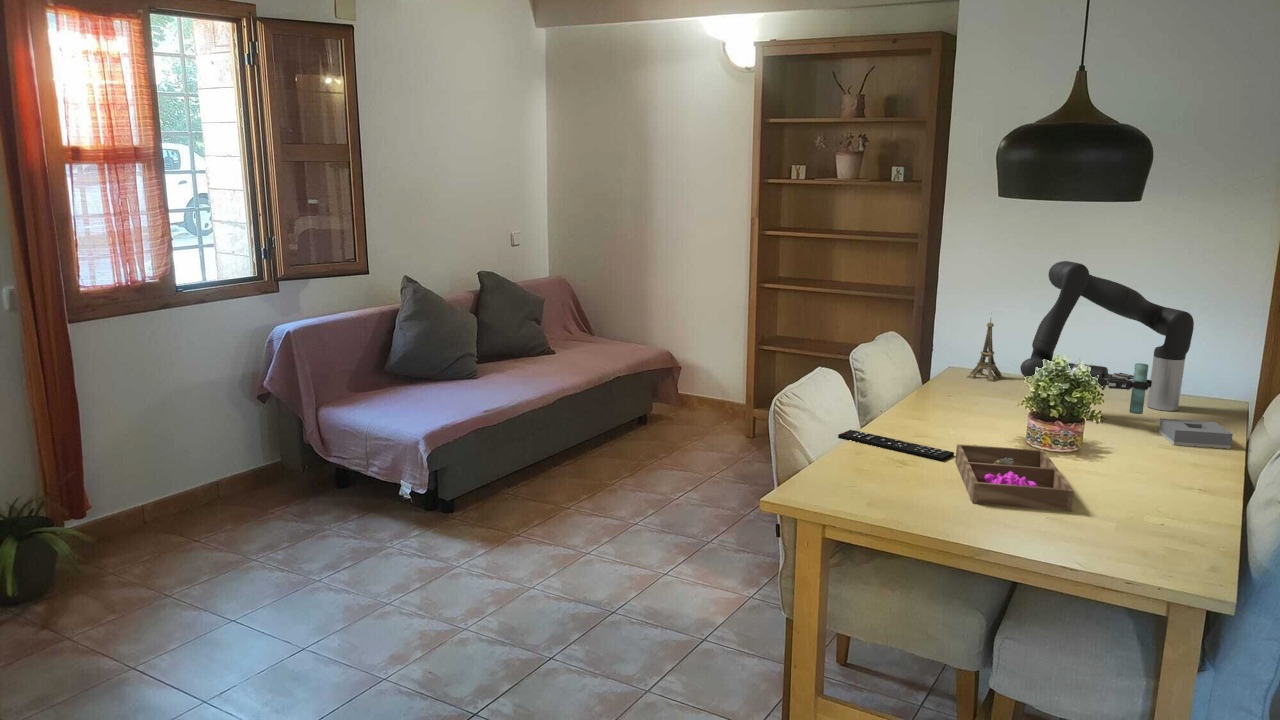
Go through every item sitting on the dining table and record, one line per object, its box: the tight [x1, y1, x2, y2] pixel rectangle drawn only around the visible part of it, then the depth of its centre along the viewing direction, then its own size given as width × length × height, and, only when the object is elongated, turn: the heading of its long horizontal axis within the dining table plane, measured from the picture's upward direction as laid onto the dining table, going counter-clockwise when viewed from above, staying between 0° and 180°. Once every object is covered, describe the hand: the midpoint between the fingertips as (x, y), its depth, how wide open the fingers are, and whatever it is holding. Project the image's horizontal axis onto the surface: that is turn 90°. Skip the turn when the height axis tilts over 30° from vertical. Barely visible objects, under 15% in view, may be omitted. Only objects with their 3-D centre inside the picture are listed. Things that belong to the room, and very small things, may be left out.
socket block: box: [1158, 418, 1233, 450], centre depth 276 cm, size 13×15×4 cm
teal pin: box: [1128, 363, 1149, 415], centre depth 285 cm, size 4×4×15 cm
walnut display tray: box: [954, 443, 1075, 512], centre depth 234 cm, size 32×22×5 cm
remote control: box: [837, 429, 955, 463], centre depth 265 cm, size 8×32×2 cm, turn 48°
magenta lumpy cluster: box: [985, 471, 1037, 487], centre depth 225 cm, size 12×10×7 cm
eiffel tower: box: [966, 312, 1005, 383], centre depth 352 cm, size 11×11×25 cm
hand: (1149, 385), depth 283 cm, fingers closed on teal pin, 3 cm apart
